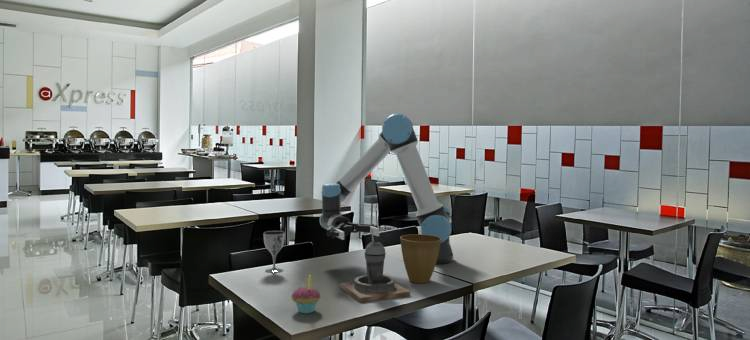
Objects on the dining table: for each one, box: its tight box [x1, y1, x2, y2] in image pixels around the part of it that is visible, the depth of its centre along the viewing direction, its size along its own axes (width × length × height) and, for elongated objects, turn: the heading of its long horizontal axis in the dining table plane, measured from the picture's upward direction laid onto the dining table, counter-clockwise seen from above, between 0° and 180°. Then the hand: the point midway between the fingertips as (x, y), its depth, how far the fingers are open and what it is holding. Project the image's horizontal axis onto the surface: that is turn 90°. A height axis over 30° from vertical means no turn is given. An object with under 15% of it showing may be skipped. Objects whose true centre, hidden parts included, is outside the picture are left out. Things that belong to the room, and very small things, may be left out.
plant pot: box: [399, 233, 441, 284], centre depth 190 cm, size 15×15×16 cm
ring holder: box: [339, 274, 411, 303], centre depth 177 cm, size 18×18×4 cm
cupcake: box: [291, 272, 321, 314], centre depth 156 cm, size 9×8×12 cm
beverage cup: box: [364, 229, 387, 285], centre depth 176 cm, size 7×7×20 cm
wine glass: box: [263, 230, 286, 274], centre depth 203 cm, size 8×8×15 cm
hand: (361, 234), depth 186 cm, fingers open, 13 cm apart
